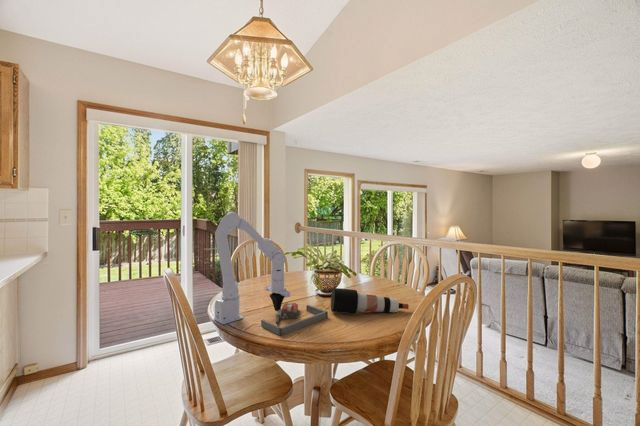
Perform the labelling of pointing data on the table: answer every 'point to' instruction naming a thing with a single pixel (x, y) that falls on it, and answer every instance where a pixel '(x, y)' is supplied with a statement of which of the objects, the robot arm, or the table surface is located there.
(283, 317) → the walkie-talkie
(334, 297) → the striped bottle
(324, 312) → the charging dock
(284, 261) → the robot arm
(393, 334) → the table surface
